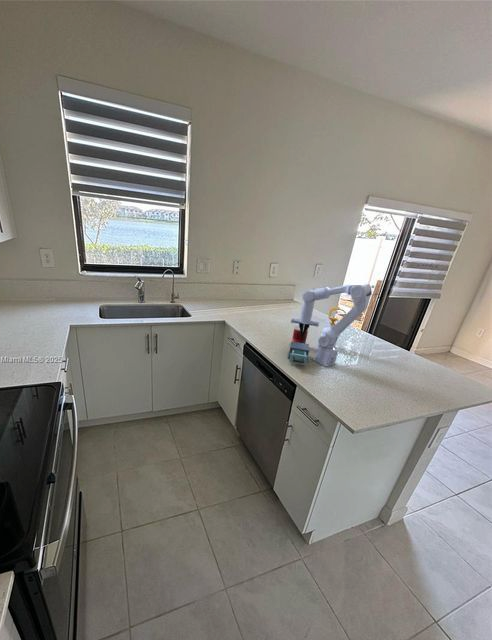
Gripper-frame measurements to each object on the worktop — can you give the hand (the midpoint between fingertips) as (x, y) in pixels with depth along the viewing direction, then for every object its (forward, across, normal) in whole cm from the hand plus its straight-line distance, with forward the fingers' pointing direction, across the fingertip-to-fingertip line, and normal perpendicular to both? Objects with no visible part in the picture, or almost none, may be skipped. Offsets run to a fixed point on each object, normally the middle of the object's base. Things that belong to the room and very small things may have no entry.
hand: (301, 336), depth 159 cm
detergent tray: (+8, 0, -16) cm, 18 cm away
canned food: (+10, -1, +11) cm, 14 cm away
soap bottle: (+10, +16, +16) cm, 25 cm away
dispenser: (+9, 0, -7) cm, 12 cm away
